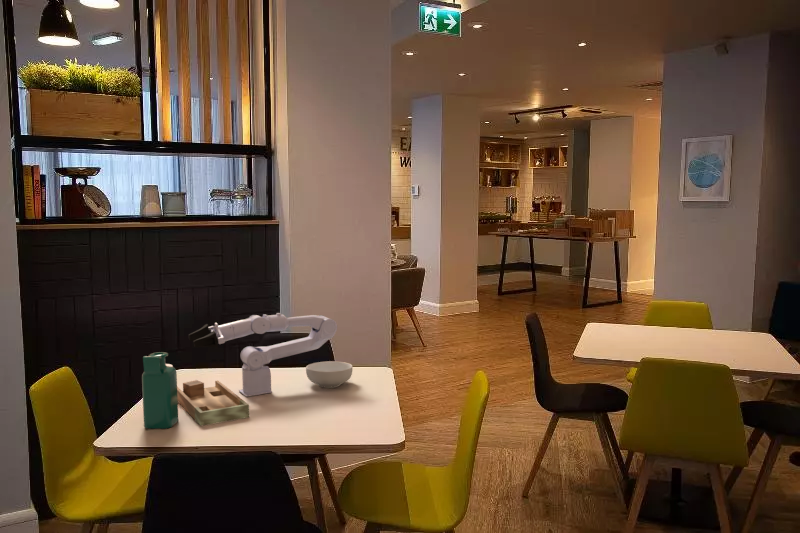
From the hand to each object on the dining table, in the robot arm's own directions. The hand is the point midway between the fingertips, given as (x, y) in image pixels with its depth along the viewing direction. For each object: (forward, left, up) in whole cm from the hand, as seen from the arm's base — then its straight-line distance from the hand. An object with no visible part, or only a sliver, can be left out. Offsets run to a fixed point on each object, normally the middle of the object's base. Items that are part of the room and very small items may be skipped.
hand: (191, 341), depth 221 cm
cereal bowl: (-47, +6, -21) cm, 52 cm away
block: (0, -1, -19) cm, 19 cm away
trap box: (-3, +10, -21) cm, 23 cm away
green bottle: (+15, +19, -21) cm, 32 cm away
